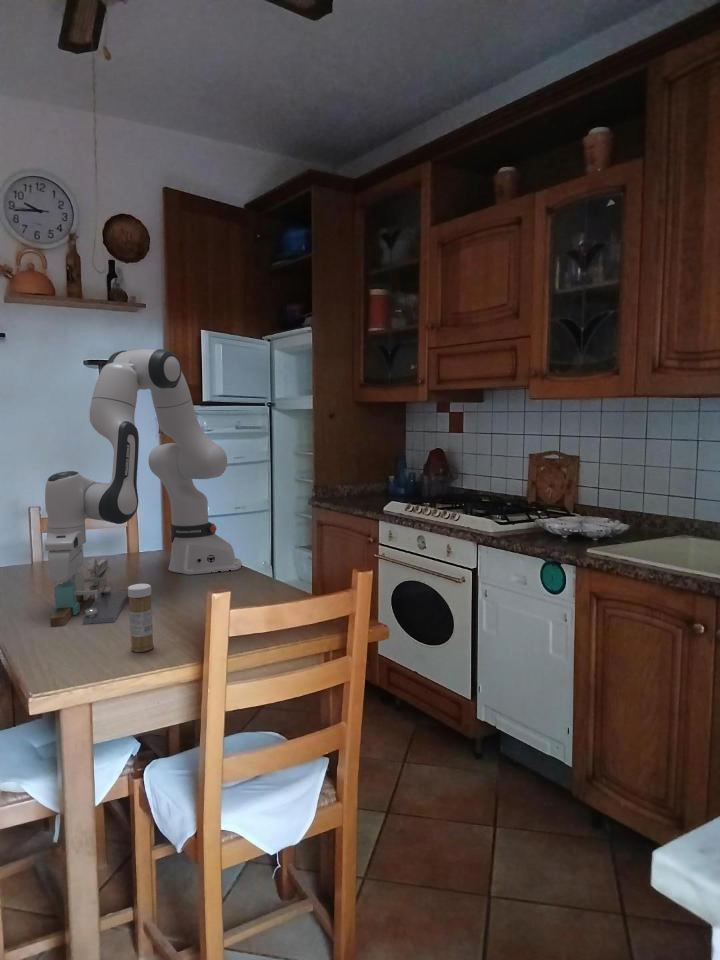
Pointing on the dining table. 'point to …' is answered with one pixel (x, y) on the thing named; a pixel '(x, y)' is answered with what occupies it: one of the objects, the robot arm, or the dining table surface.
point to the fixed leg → (82, 582)
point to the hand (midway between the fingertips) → (69, 591)
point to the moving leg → (69, 597)
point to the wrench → (96, 568)
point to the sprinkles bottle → (140, 617)
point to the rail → (63, 614)
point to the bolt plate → (105, 606)
